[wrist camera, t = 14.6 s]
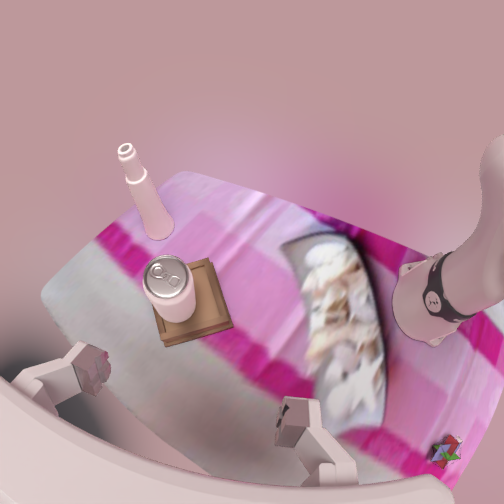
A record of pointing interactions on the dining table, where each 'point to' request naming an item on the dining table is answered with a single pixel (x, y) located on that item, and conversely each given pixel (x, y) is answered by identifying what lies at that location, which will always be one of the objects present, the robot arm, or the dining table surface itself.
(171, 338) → the pedestal
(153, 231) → the pink bottle
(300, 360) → the dining table surface
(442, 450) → the geometric puzzle
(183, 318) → the can
